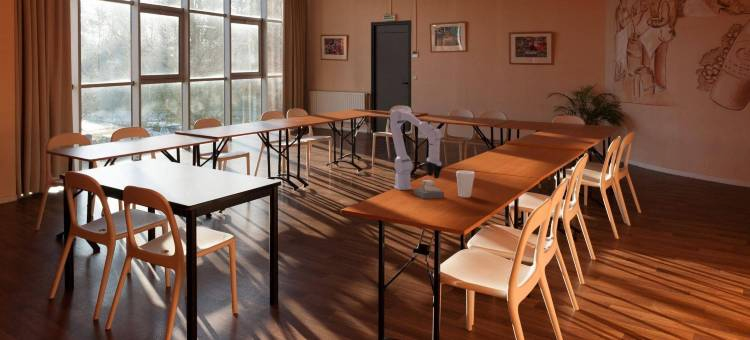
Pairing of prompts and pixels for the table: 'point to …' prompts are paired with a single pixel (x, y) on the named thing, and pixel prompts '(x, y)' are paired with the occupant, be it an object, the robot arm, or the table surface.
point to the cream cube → (428, 185)
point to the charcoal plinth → (428, 193)
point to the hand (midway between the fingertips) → (433, 176)
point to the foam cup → (465, 182)
